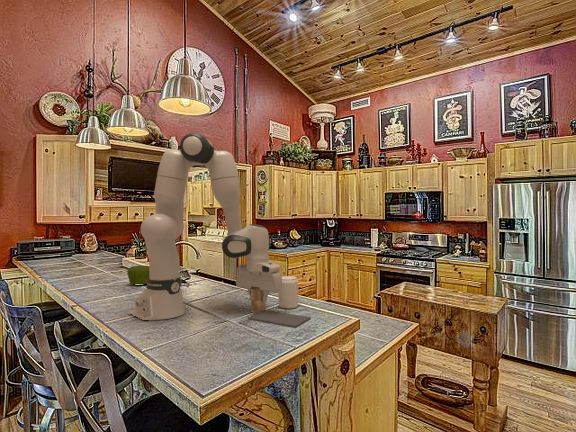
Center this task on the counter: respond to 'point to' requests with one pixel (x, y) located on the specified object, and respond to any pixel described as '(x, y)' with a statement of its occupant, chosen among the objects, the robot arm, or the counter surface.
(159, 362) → the counter surface
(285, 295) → the beverage can
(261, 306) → the maple block
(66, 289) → the counter surface
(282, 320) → the rubber mat
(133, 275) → the green pot
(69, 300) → the counter surface
